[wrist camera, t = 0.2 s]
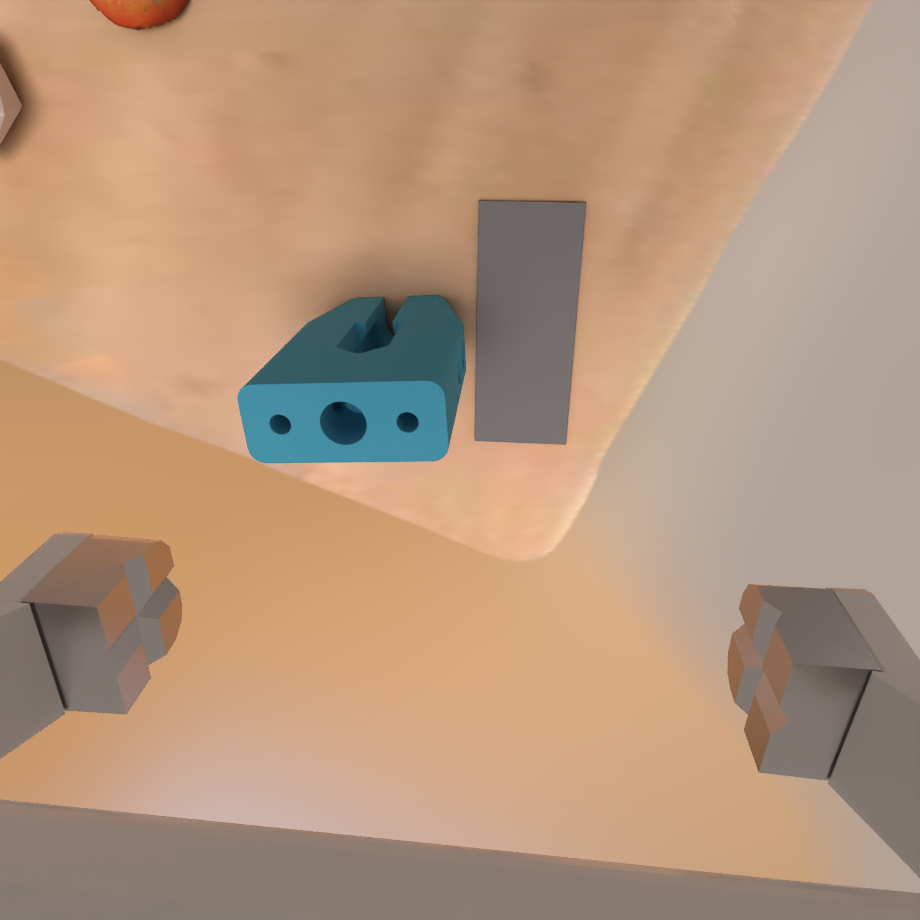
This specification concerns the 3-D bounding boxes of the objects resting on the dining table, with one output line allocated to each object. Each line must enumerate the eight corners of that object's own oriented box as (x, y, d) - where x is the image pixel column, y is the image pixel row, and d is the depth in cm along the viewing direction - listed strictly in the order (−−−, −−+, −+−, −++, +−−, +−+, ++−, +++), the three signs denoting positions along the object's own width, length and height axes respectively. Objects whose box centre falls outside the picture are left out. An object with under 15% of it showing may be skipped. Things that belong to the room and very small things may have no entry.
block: (332, 357, 59) (251, 463, 42) (324, 298, 57) (234, 385, 39) (472, 353, 58) (449, 461, 41) (469, 293, 56) (443, 380, 38)
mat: (479, 200, 53) (478, 201, 52) (585, 202, 52) (586, 202, 52) (475, 438, 62) (474, 440, 61) (565, 442, 61) (565, 444, 61)
